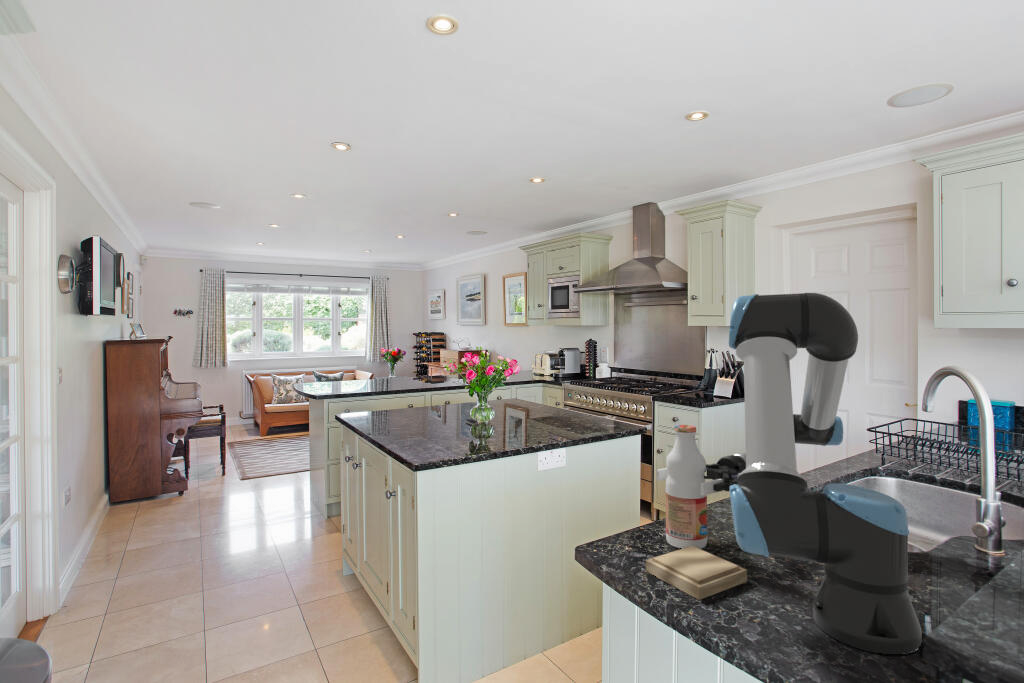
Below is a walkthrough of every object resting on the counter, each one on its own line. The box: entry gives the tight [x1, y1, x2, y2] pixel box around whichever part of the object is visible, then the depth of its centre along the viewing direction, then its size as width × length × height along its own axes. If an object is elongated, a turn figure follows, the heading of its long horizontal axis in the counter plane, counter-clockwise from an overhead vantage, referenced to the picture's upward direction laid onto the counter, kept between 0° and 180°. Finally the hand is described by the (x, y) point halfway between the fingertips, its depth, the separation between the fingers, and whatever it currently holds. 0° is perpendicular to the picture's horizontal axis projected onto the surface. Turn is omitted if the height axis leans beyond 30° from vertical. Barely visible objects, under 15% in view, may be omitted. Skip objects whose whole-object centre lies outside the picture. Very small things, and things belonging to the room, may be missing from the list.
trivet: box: [645, 546, 748, 601], centre depth 108 cm, size 14×14×3 cm
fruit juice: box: [664, 424, 708, 550], centre depth 125 cm, size 9×9×28 cm
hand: (678, 482), depth 124 cm, fingers open, 13 cm apart
